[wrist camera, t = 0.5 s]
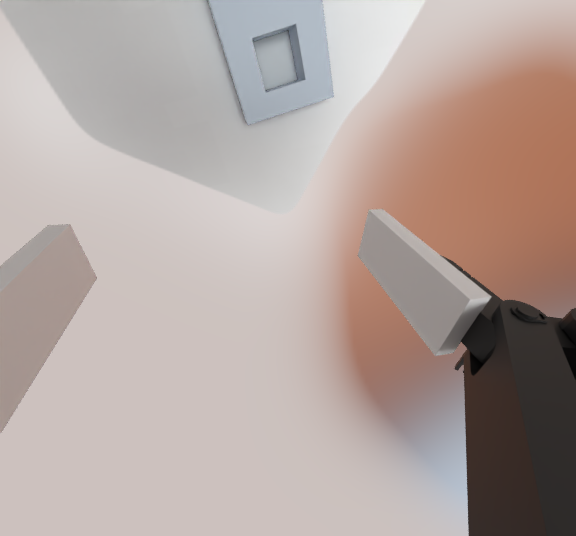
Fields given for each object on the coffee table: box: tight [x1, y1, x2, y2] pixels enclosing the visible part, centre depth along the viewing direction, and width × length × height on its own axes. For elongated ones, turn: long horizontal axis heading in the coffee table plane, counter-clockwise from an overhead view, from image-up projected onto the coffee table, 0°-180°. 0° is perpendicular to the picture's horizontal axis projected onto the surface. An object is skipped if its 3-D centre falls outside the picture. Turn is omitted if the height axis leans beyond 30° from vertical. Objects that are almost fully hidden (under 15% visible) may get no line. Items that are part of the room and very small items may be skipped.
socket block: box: [208, 0, 334, 125], centre depth 24 cm, size 18×10×4 cm, turn 15°
